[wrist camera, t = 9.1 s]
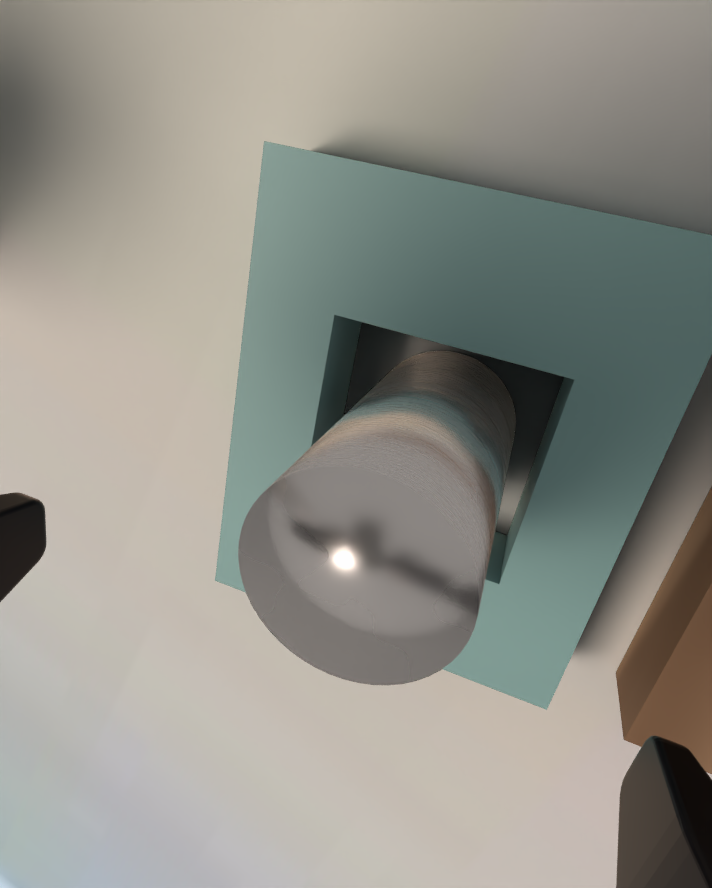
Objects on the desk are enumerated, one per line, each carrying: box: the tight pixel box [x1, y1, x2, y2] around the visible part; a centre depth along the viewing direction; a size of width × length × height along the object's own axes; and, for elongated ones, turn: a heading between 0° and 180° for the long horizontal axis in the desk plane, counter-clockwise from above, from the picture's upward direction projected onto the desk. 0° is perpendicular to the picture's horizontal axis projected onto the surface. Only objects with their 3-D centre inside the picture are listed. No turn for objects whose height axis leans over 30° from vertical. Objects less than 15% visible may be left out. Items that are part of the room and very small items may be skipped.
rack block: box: [215, 141, 712, 710], centre depth 15 cm, size 10×12×2 cm
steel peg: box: [238, 351, 516, 685], centre depth 13 cm, size 4×4×8 cm
